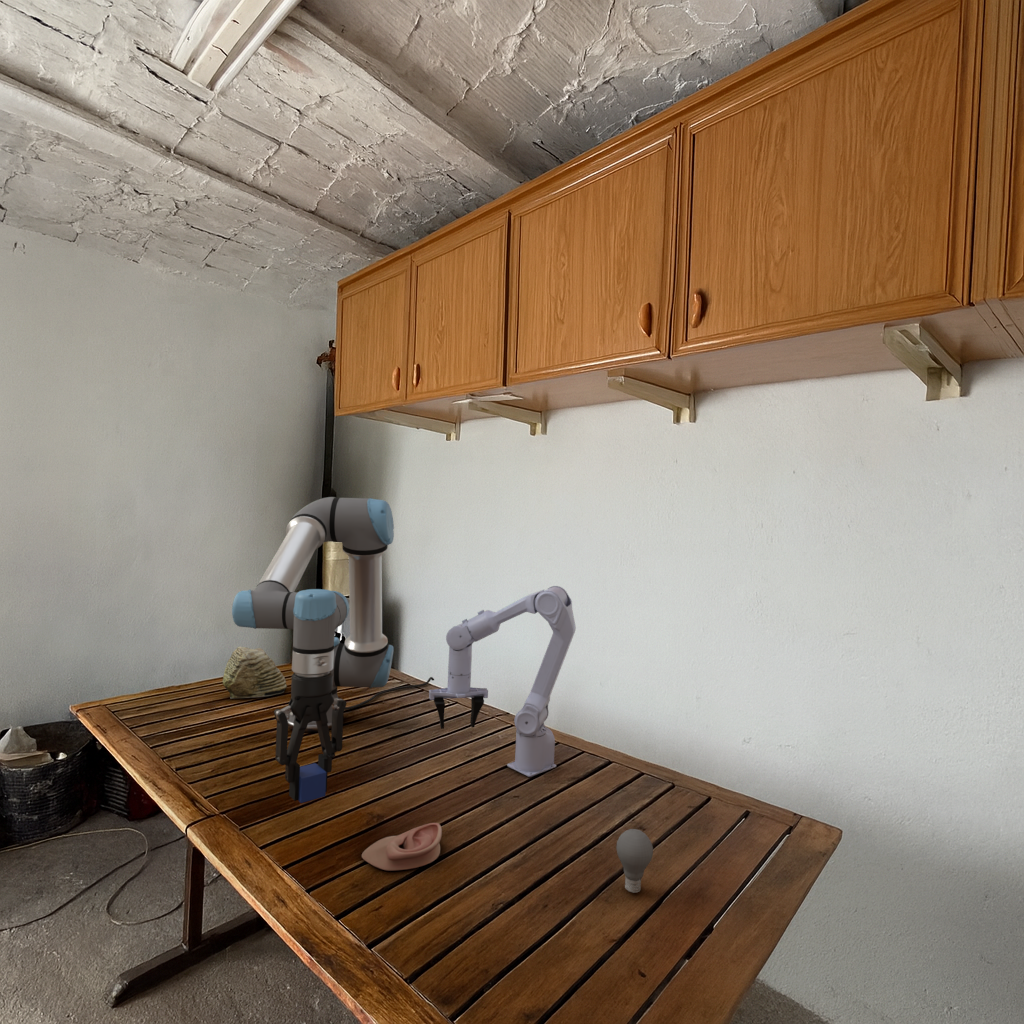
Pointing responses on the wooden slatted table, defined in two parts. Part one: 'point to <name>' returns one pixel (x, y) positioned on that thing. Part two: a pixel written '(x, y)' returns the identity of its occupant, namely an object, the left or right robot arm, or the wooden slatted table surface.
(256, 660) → the fossil
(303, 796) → the blue cube
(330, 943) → the wooden slatted table surface
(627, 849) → the light bulb
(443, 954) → the wooden slatted table surface
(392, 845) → the anatomical model
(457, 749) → the wooden slatted table surface
